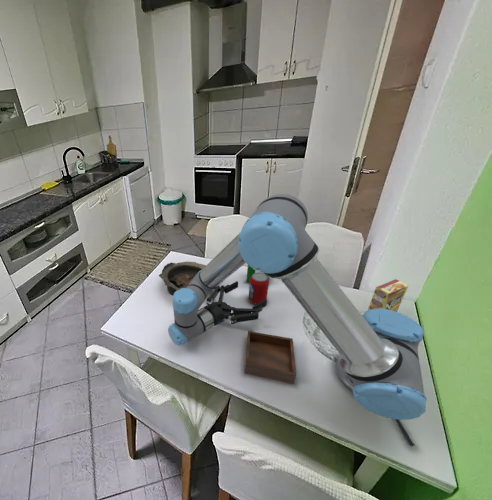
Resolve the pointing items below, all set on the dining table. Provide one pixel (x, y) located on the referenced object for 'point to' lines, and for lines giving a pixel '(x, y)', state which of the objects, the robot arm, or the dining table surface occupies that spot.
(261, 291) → the beverage can
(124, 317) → the dining table surface
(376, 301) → the candy box
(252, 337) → the holder
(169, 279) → the stone bowl
